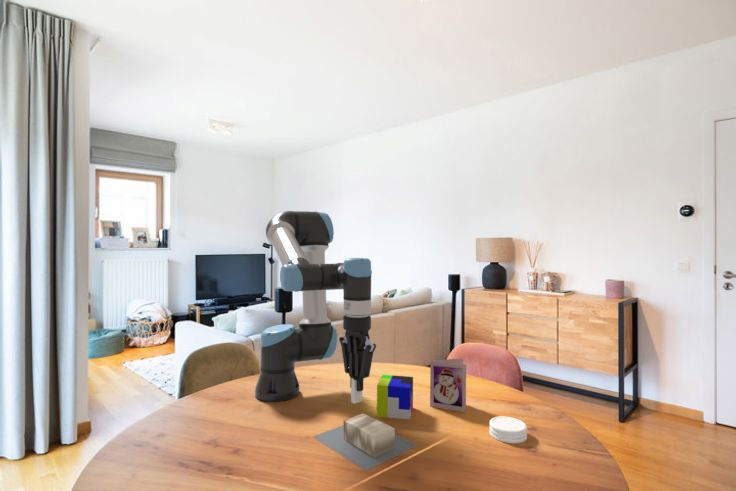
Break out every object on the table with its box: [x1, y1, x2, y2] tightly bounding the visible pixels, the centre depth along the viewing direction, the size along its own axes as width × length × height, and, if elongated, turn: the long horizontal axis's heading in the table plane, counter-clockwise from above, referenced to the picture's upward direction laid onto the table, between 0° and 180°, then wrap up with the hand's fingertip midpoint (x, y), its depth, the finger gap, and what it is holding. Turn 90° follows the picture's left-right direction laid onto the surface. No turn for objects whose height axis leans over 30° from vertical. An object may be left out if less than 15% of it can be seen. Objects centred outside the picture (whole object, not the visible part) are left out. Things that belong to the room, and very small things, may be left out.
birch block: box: [343, 413, 396, 457], centre depth 108 cm, size 5×7×12 cm
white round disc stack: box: [488, 415, 528, 444], centre depth 114 cm, size 10×10×4 cm
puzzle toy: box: [376, 374, 414, 420], centre depth 128 cm, size 10×10×10 cm
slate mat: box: [312, 424, 419, 472], centre depth 109 cm, size 22×18×1 cm
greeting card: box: [429, 358, 467, 413], centre depth 134 cm, size 11×7×15 cm, turn 68°
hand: (356, 401), depth 111 cm, fingers closed
